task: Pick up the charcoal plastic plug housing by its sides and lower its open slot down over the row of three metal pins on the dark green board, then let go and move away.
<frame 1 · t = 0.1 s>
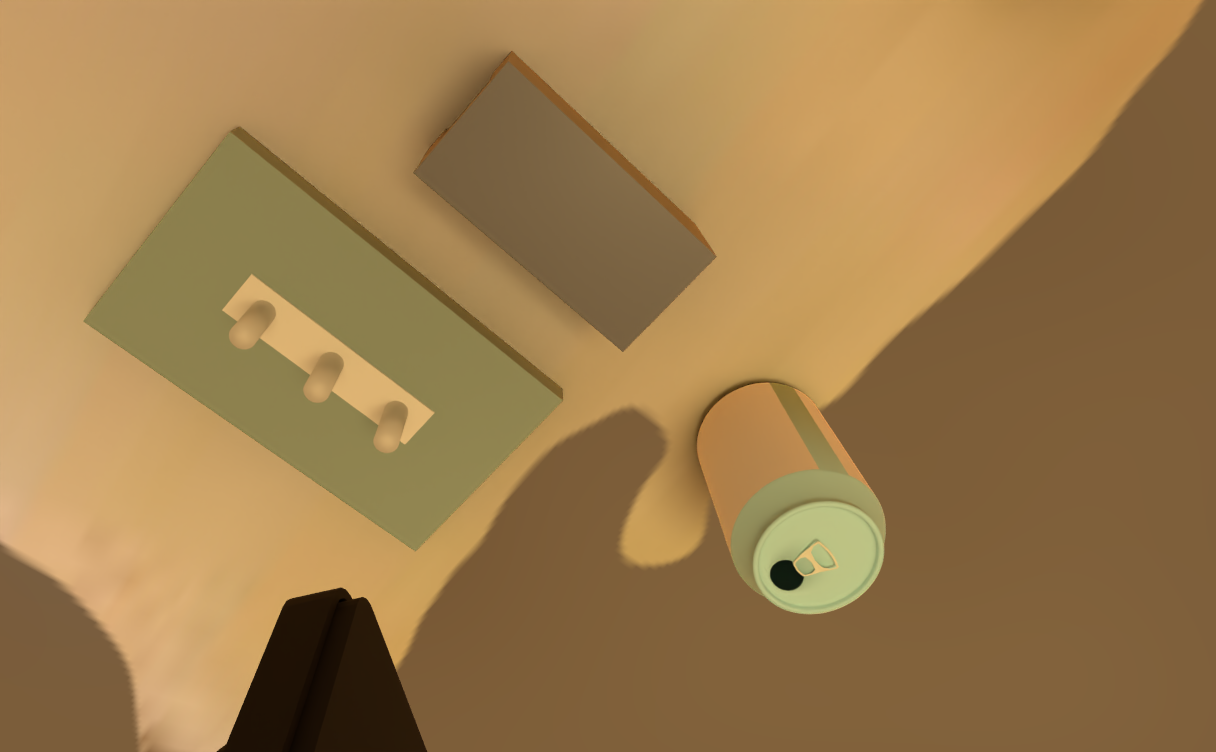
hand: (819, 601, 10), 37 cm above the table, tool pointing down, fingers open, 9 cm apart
can: (757, 434, 51), on the table
plug housing: (565, 187, 45), on the table
pin board: (337, 351, 47), on the table
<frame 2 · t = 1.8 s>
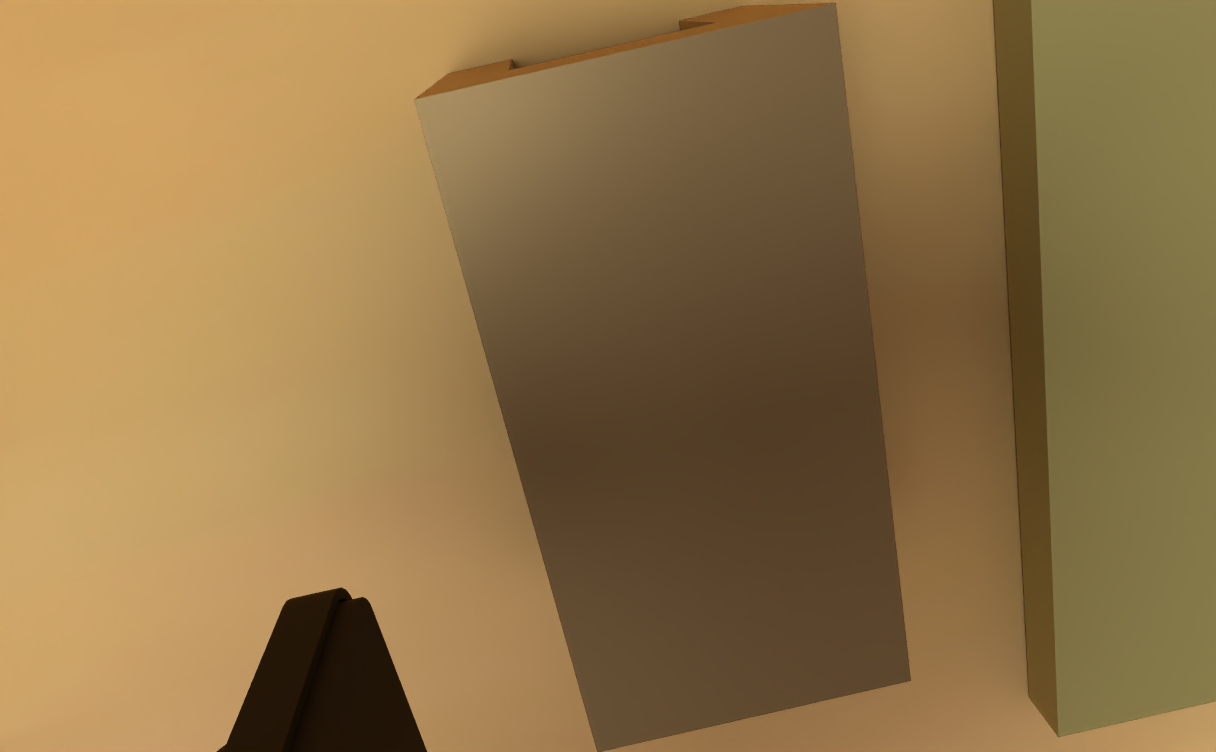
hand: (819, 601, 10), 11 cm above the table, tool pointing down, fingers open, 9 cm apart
plug housing: (652, 320, 21), on the table
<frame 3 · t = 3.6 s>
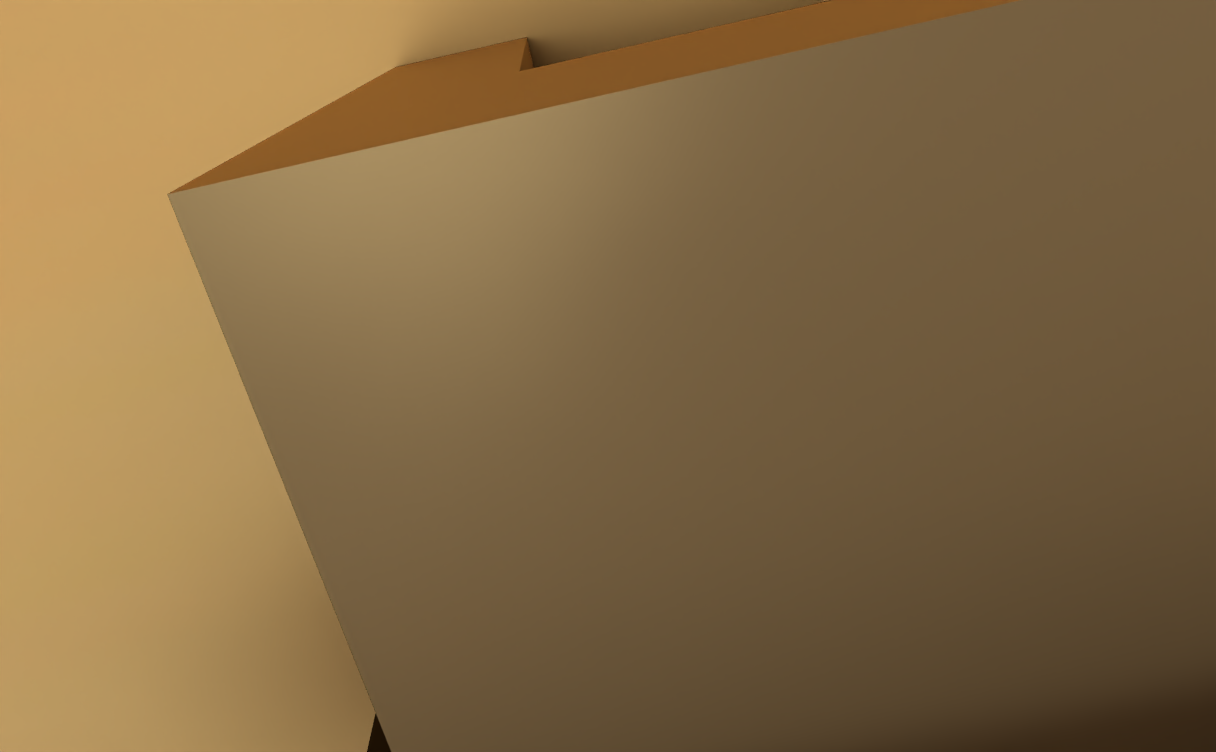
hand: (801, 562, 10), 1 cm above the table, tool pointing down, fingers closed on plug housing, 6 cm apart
plug housing: (782, 520, 11), on the table, touching gripper
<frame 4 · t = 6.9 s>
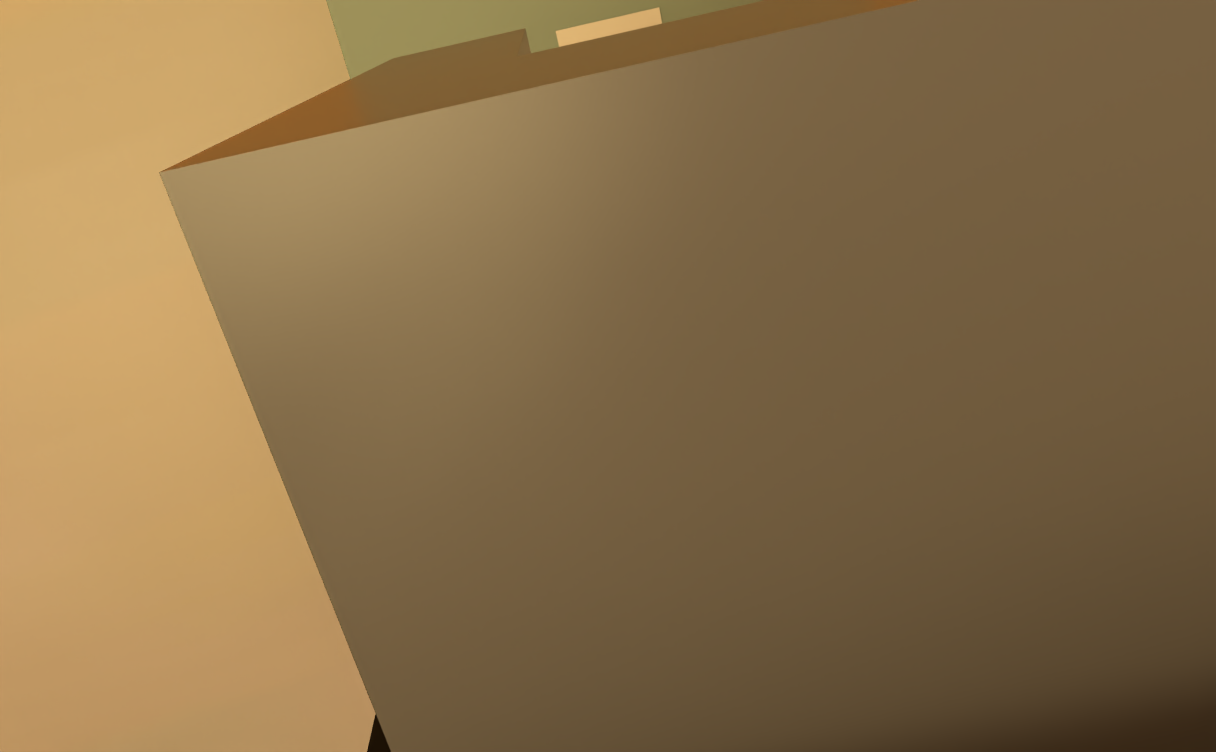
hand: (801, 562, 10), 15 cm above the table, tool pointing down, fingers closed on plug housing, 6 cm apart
plug housing: (781, 515, 11), point 14 cm above the table, touching gripper
pin board: (646, 235, 25), on the table
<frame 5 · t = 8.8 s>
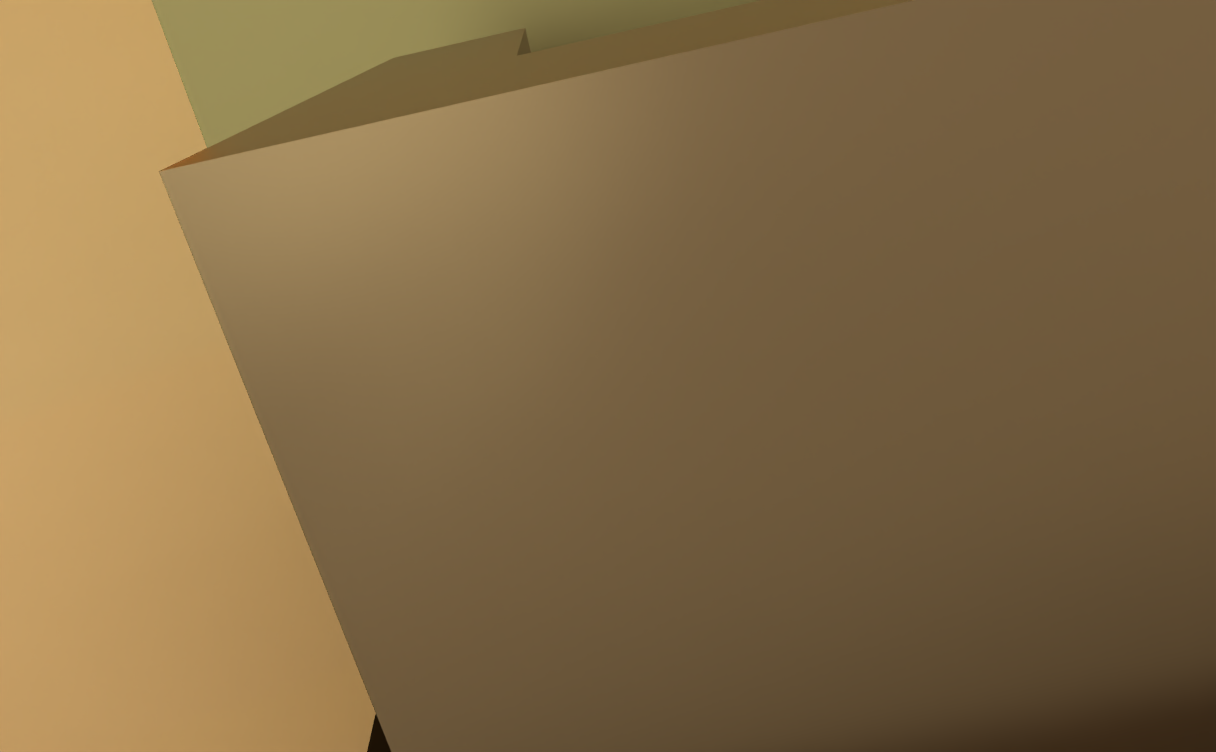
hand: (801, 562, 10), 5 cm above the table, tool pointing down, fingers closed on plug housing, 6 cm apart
plug housing: (781, 515, 11), point 4 cm above the table, touching gripper
pin board: (713, 382, 15), on the table
when the fingers open (4 cm above the table, at t = 10.2 s): plug housing drops 2 cm, resting on pin board.
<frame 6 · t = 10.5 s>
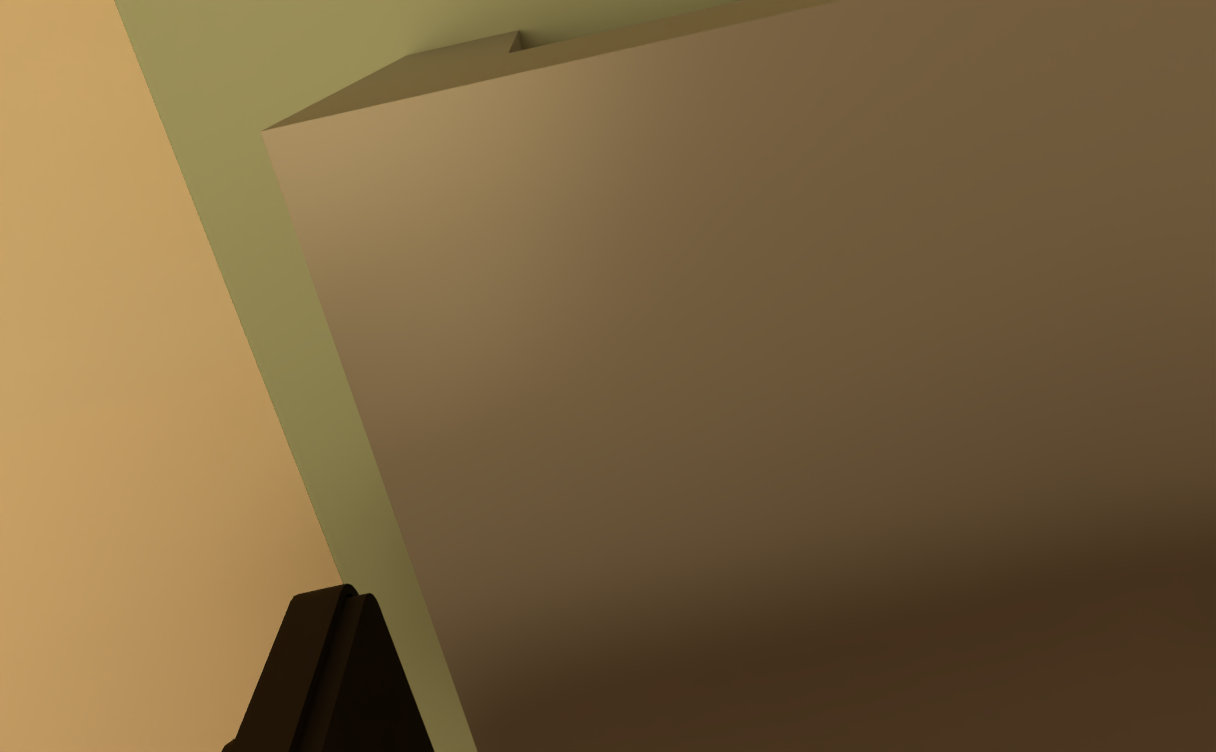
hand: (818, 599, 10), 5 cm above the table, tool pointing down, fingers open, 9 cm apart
plug housing: (744, 457, 13), point 1 cm above the table, touching pin board
pin board: (731, 410, 14), on the table
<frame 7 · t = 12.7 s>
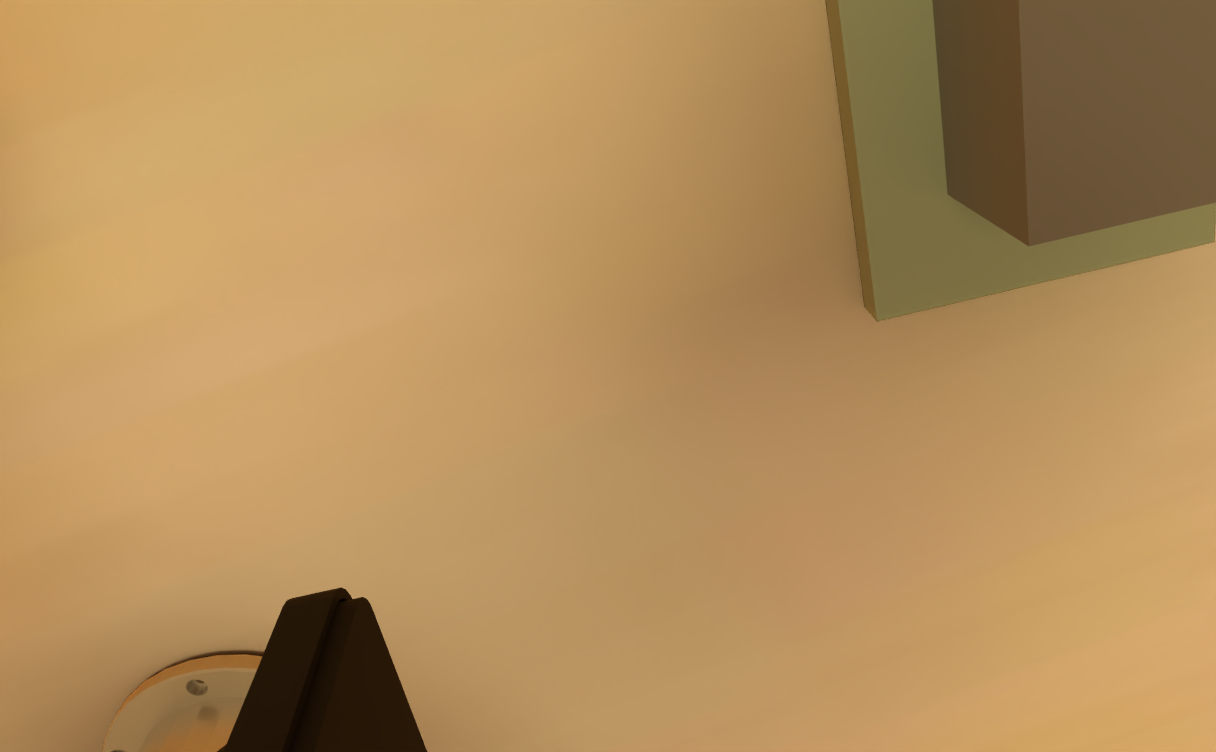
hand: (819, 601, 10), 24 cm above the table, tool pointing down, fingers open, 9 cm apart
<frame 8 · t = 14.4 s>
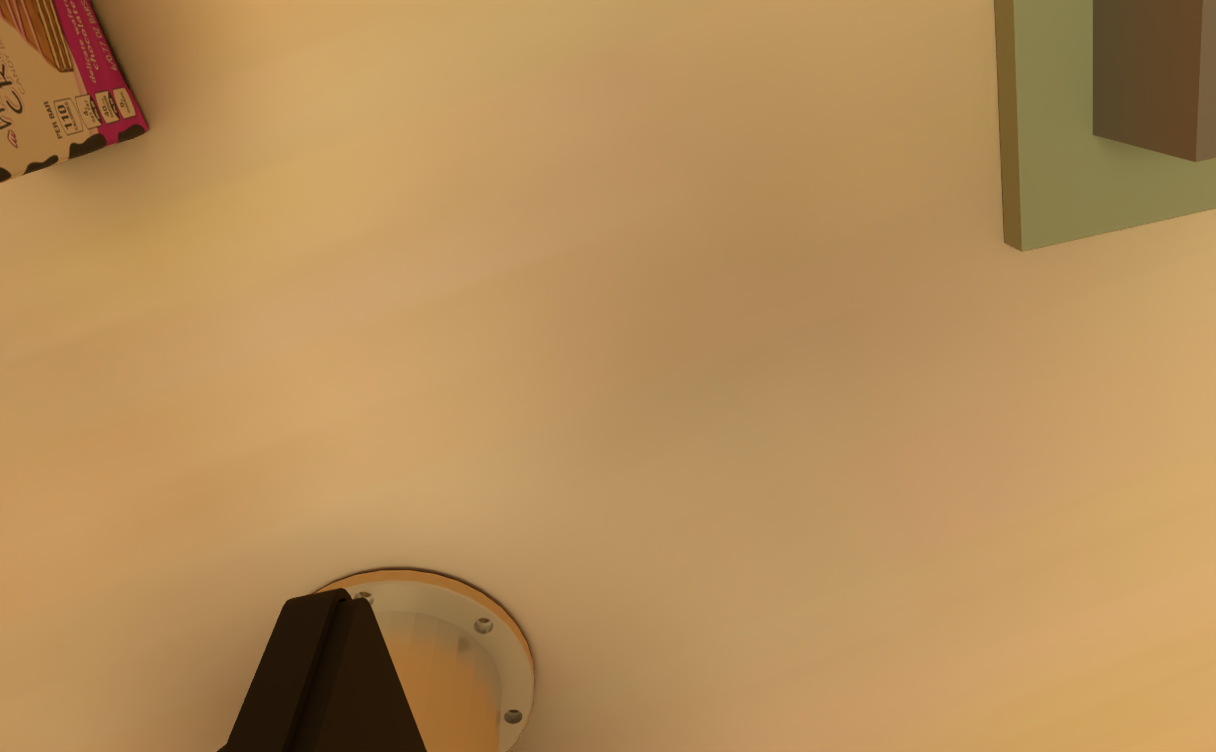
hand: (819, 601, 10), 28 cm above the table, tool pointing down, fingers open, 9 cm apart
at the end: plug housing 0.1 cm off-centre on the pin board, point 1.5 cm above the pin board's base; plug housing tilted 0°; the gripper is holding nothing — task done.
